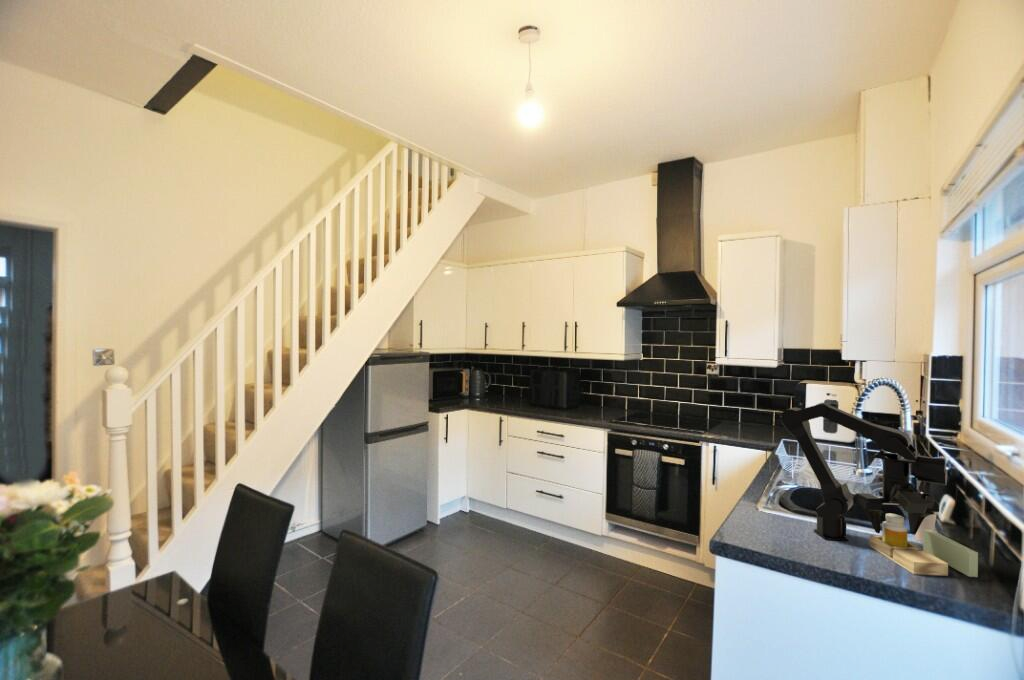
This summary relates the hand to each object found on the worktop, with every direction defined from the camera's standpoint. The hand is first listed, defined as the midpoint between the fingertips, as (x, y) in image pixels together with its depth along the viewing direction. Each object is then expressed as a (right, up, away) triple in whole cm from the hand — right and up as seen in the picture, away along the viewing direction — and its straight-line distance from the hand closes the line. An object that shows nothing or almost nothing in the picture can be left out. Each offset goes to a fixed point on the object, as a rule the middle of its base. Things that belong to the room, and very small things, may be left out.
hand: (895, 533), depth 128 cm
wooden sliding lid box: (0, -5, -4) cm, 7 cm away
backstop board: (+9, -6, -6) cm, 12 cm away
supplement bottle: (0, -5, 0) cm, 5 cm away
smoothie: (+16, -6, +9) cm, 19 cm away
